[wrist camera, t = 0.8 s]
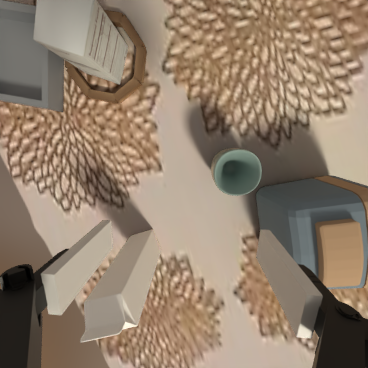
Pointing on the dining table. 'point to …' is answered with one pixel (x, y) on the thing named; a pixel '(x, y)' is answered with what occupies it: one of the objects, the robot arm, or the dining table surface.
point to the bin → (27, 61)
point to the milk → (122, 288)
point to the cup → (236, 171)
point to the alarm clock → (321, 226)
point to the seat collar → (139, 69)
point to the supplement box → (81, 36)
